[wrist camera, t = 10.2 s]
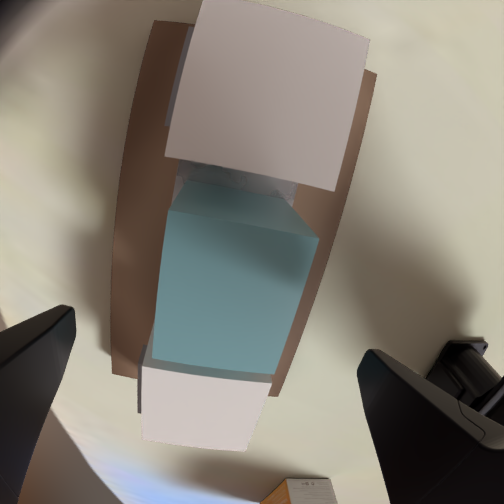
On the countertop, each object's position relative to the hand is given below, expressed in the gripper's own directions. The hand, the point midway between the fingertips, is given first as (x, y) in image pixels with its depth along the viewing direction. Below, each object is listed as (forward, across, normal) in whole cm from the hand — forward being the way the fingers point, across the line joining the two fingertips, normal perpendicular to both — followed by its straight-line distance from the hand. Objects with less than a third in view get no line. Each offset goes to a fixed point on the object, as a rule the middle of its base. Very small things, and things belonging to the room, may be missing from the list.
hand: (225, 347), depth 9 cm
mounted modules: (+9, 0, 0) cm, 9 cm away
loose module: (+8, 0, 0) cm, 9 cm away
